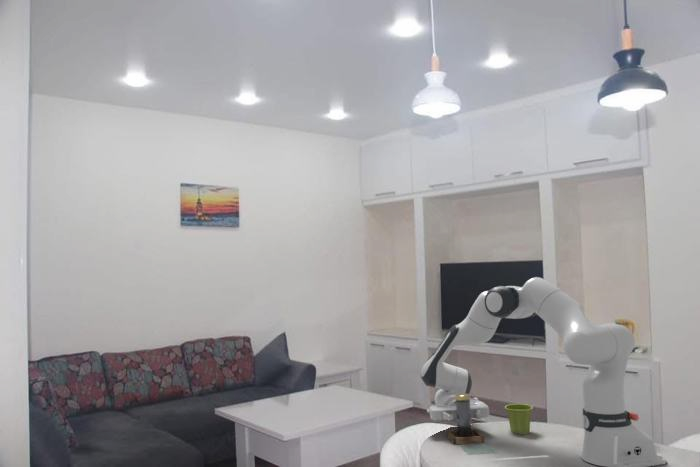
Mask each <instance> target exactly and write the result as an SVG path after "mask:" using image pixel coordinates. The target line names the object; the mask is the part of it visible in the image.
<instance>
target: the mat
mask: <svg viewBox="0 0 700 467" xmlns="http://www.w3.org/2000/svg"><path fill="white" fill-rule="evenodd" d="M460 448H461V449H462V451H464V452H465V453H466V455H468V456H469V455H470V456H471V455H484V454H485V455H486V454H497V452H496V450H495V449H493V448H492V447H491V446H490V445H489V444H488V443H482V444H481V443H480V444H469V445H466V444H464V445H460Z"/></svg>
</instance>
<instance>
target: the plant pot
mask: <svg viewBox="0 0 700 467" xmlns="http://www.w3.org/2000/svg"><path fill="white" fill-rule="evenodd" d="M504 409H505V411H506V413H507V417H508V421H509V422H508V423H509V427H510V428H509V429H510V432H512V433H515V434H522V435H528V434H530V432H531V431H530V430H531V418H532V417H531V416H532V413H533V412H532V411H533V409H534V408H533V405H530V404H524V403H513V404H512V403H511V404H507V405H505V406H504Z"/></svg>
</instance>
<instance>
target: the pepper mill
mask: <svg viewBox="0 0 700 467" xmlns="http://www.w3.org/2000/svg"><path fill="white" fill-rule="evenodd" d="M470 397H471V395H470V393H469V394H466V393H460V394H456V395H455V400H456V409H457V421H456V422H457V424H456V425H457V430H458V437H470V436H472V430H471V429H472V418H471V413H470Z"/></svg>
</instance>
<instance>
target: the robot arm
mask: <svg viewBox="0 0 700 467" xmlns="http://www.w3.org/2000/svg"><path fill="white" fill-rule="evenodd" d="M535 316H538V317H540V319H542V320H543V321H544V322H545V323H546V324H547V325H548V326H550V327H551V328H552V329H553V330H554V331H555V332H556V333H557V334H558V335H559V337H560V338H561V341H563V351H564V354H565V355H566V356H567V358H568V359H569V360H570V361H571V362H573V363H574V364H578V365H582V366H583V365H584V366H589V367H588V372H587V373H586V376H585V377H584V378H583V381H582V398H583V408H582V424H583V430H584V431H583V432H584V433H583V434H584V435H583V446H582V451H581V455H580V457H581V459H582V460H583V461H585V462H586V463H589V464H592V465H596V466H601V467H651V466H653V467H654V466H659V465H665V464H666V463H667V462H666V461H667V460H666V458H665V456H663V455H662V454H660V453H659V452H657V449H656V445H655V442H654V440H653V439H652V437H651V436H650V435H648V434H647V433H645V431H643V430H642V429H640V428H639V427H637V426H636V425H635V424H633V422H632V421H634V422H638V421H639V419H640V417H639V415H638V414H637V413H635V412H629V411H628V410H626V408H625V399H624V396H625V392H624V390H625V387H624V386H625V376H626V370H627V366H628V361H629V357H630V356H631V354H632V352H633V350H634V349H635V345H636V340H635V336H634V334H633V332H632V331H631V330H630V328H628V327H626V326H625V325H622V324H618V323H613V322H611V323H609V322H607V323H602V324H601V323H600V324H597V323H596V324H595V323H593V322H592V321H590V320H589V319H588V317H586V315H585V310H584V308H583V306H582V304H580V303H579V302H578V301H576V300H575V299H574V298H573V297H572V296H570V295H569V294H567V293H566V292H565V291H564V290H562V289H561V288H559V287H558V286H556V285H555V284H554V283H552V282H550V281H549V280H546V279H544V278H542V277H539V276H535V277H532V278H530V279H528V280H527V281H525V283H524V284H523V285H522V286H517V285H506V286H504V285H498V286H495V287H492V288H490V289H489V290H485V291H483V292H480V294H479V295H478V296H477V298H476V299H475V301H474V303H473V304H472V306H471V307H470V310H469V312H468V314H467V315H466V317H465V318H464V319H463V320H462V321H461V322H460V323H457V324H453V325H452V326H451V327H450V329H449V330H448V331H447V333H446V334H445V335H444V336H443V338H442V339H441V341H440V342H439V344H438V345H437V347H436V348H435V350H434V351H433V353H432V354H431V355H430V357H429V358H428V359H426V361H425V363H424V364H423V366H422V367H421V372H420V378H421V380H422V382H423V383H424V385H425V386H426V387H430V388H436V389H438V390H437V391H436V393H435V394H434V405H430V407H429V408H427V409H426V412H427V414H429V416H430V417H429V418H430V420H431V421H435V422H437V421H449V422H457V409H456V400H455V395H456V394H460V393H466V394H470V393H471V389H472V384H473V381H472V380H473V379H472V376H471V374H470V372H469V371H468V370H467V369H465V368H462V367H460V366H456V365H453V364H449V363H446V362H444V361H445V360H446V359H447V357H448V356H449V355H450V353H451V351H452V350H453V349H454V348H456V347H458V346H463V345H481V344H482V345H483V344H485V343H487V342H490V340H491V339H492V338H493V336H494V335H495V333H496V331H497V329H498V326H499V324H500V322H501V320H502V319H512V320H518V319H530V318H533V317H535ZM470 413H471V419H476V420H481V419H483V418H489V417H490V408H489V406H488V405H487V404H486V403H485V402H483V401H481V400H479V398H478V397H474V396H473V397H472V396H470Z"/></svg>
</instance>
